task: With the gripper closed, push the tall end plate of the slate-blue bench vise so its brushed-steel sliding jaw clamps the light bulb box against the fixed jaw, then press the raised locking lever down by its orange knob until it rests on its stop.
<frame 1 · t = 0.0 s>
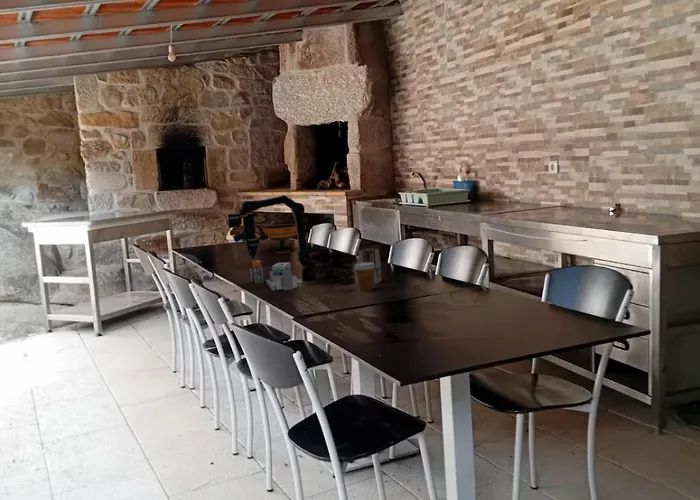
hand: (251, 257, 327), 15 cm above the table, tool pointing down, fingers open, 9 cm apart
cup: (283, 252, 444), on the table
sliding jaw: (286, 279, 314), point 5 cm above the table, slide at 0.0 cm
light bulb box: (283, 285, 326), resting in vise
vise: (283, 285, 325), on the table
disposable coffee cup: (366, 289, 302), on the table
lever: (256, 267, 340), point 8 cm above the table, hinge at 40.0°
coffee box: (371, 282, 318), on the table
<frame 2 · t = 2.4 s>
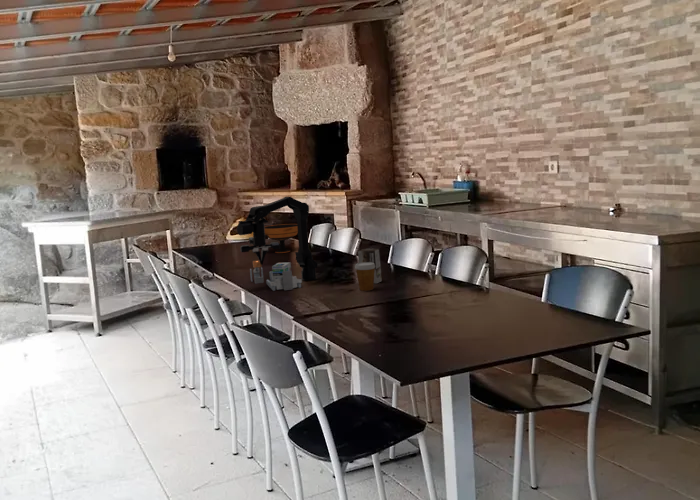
hand: (261, 264, 319), 12 cm above the table, tool pointing down, fingers closed
nothing on the table moved.
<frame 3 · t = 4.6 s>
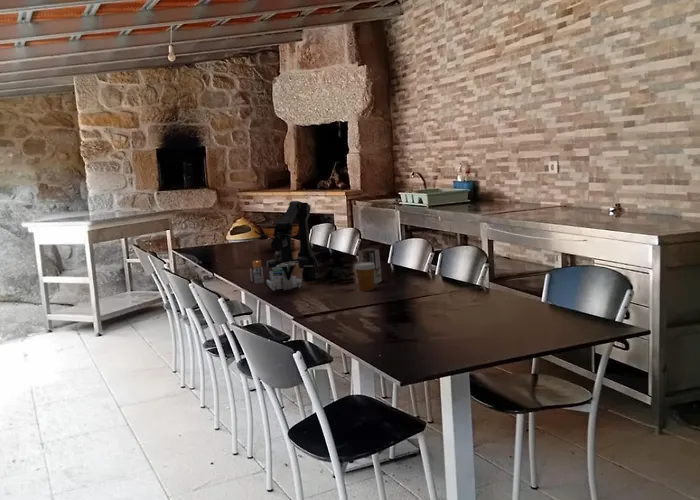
hand: (288, 279, 310), 5 cm above the table, tool pointing down, fingers closed, pressing on sliding jaw
sliding jaw: (286, 279, 315), point 5 cm above the table, slide at 0.4 cm, touching gripper
everything else where it was.
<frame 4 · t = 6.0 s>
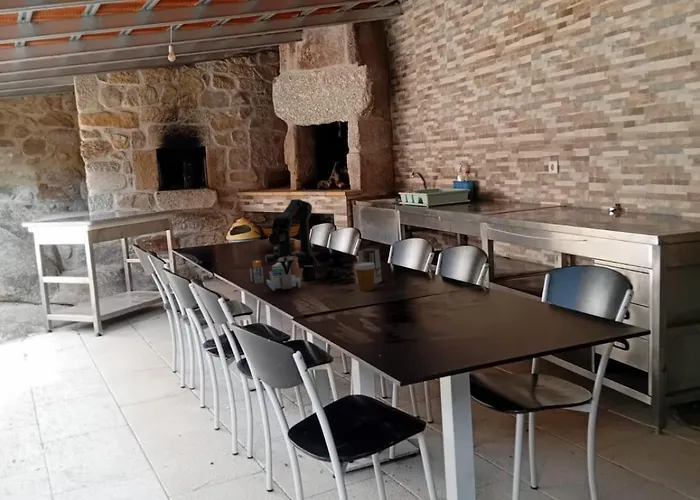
hand: (286, 274, 311), 8 cm above the table, tool pointing down, fingers closed
sliding jaw: (285, 278, 317), point 5 cm above the table, slide at 2.8 cm
everything else where it was.
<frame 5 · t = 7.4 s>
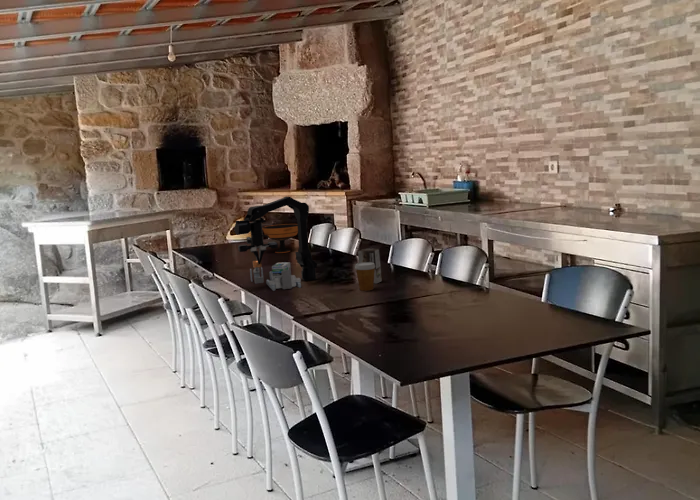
hand: (259, 263, 321), 12 cm above the table, tool pointing down, fingers closed
nothing on the table moved.
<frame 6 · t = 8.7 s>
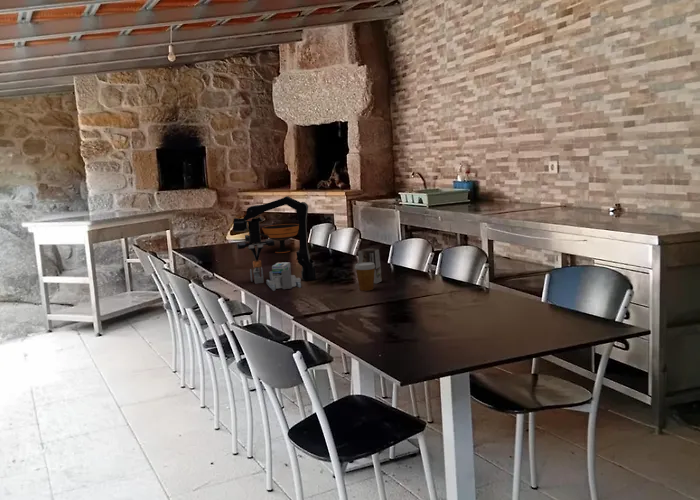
hand: (256, 260, 337), 11 cm above the table, tool pointing down, fingers closed, pressing on lever
sliding jaw: (285, 278, 317), point 5 cm above the table, slide at 2.8 cm, touching light bulb box
light bulb box: (282, 285, 327), resting in vise, touching sliding jaw
lever: (256, 267, 340), point 7 cm above the table, hinge at 39.2°, touching gripper
everything else where it was.
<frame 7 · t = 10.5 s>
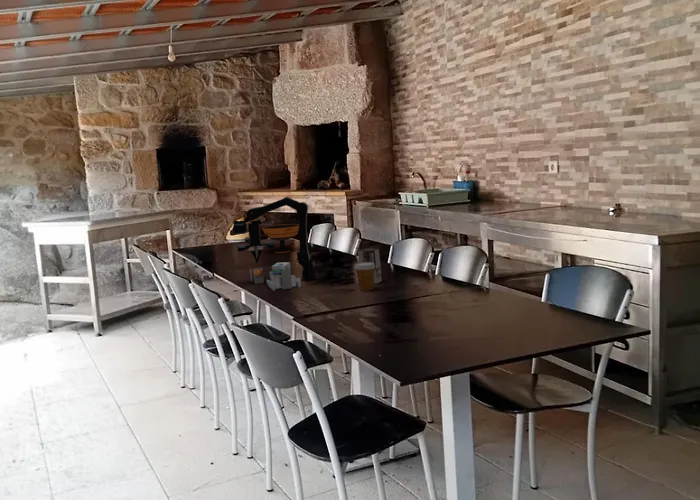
hand: (256, 263, 336), 10 cm above the table, tool pointing down, fingers closed
sliding jaw: (285, 278, 317), point 5 cm above the table, slide at 2.8 cm
light bulb box: (282, 285, 327), resting in vise
lever: (257, 272, 339), point 5 cm above the table, hinge at 2.1°
everything else where it was.
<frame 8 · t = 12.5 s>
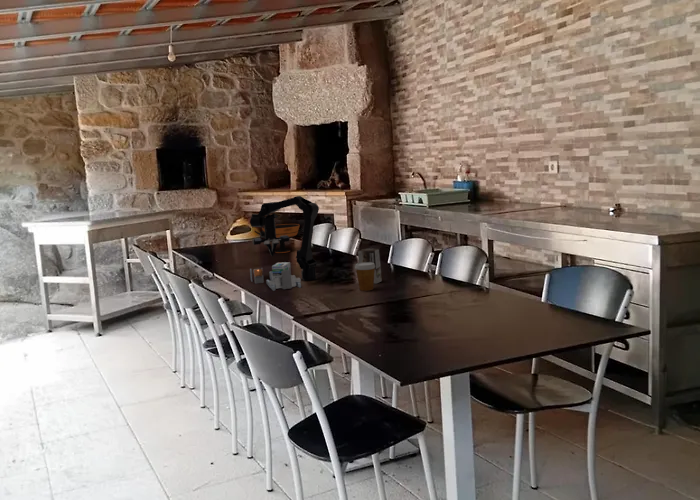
hand: (272, 256, 344), 12 cm above the table, tool pointing down, fingers closed
nothing on the table moved.
at the end: sliding jaw slide at 2.8 cm; light bulb box 1.3 cm from the target spot, resting in vise; lever at +2° (first picture: +40°) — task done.
